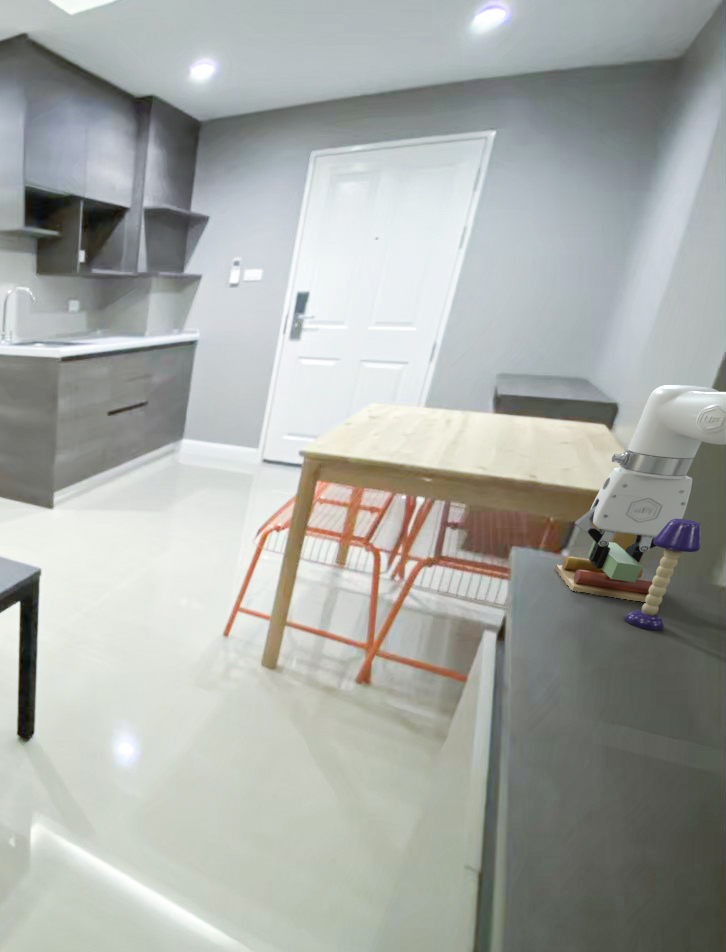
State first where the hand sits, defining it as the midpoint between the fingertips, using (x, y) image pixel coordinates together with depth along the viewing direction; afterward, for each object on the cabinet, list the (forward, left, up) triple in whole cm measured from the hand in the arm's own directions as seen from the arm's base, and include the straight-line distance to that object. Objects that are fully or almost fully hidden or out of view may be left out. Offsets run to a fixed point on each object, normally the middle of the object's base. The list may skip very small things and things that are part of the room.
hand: (610, 567), depth 105 cm
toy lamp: (-1, +15, -4) cm, 16 cm away
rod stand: (0, 0, -4) cm, 4 cm away
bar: (0, 0, 0) cm, 0 cm away
